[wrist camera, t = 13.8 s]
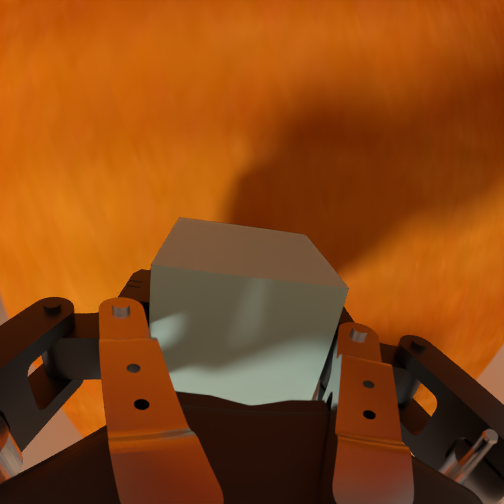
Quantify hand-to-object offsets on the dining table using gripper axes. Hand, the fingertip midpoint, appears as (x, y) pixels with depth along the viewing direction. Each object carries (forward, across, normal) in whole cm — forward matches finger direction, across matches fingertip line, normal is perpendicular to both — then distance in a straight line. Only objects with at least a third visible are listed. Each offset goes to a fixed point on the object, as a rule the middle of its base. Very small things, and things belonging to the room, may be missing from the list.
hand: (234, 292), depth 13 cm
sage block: (+1, 0, 0) cm, 1 cm away
